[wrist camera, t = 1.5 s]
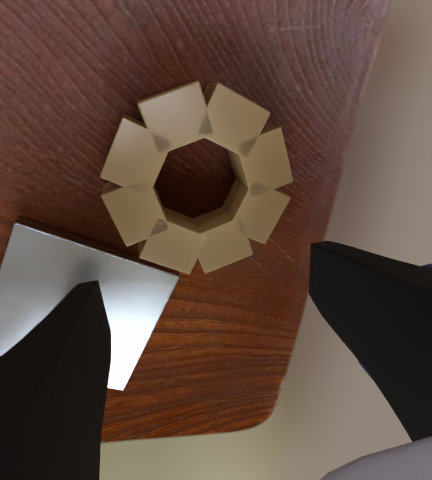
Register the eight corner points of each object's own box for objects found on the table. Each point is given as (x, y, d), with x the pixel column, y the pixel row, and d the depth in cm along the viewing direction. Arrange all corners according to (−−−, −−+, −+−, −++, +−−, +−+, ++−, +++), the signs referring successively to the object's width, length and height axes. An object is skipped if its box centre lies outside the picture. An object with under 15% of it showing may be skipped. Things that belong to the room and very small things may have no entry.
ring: (301, 136, 20) (322, 141, 17) (228, 272, 22) (239, 291, 20) (148, 49, 16) (151, 43, 14) (82, 220, 19) (76, 237, 17)
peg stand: (178, 268, 21) (198, 344, 15) (123, 379, 23) (120, 485, 17) (19, 215, 18) (-41, 282, 12) (-25, 350, 20) (-96, 466, 14)
